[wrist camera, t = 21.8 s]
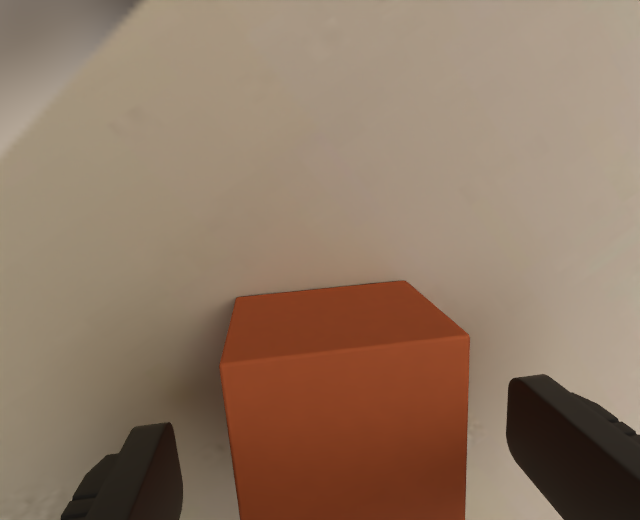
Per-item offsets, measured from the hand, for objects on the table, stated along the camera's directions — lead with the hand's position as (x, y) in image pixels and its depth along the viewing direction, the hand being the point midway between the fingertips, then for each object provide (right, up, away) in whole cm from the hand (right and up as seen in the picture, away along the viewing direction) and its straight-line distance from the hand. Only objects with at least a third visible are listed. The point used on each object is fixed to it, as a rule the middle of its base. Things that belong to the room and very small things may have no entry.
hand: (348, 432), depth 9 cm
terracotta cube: (0, +1, +3) cm, 3 cm away
